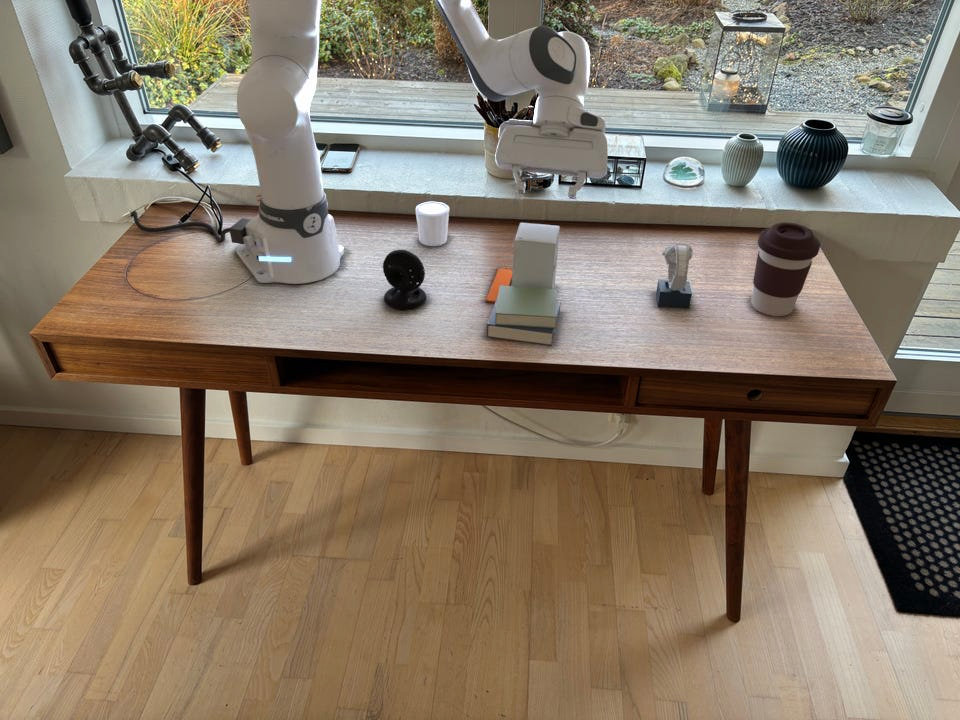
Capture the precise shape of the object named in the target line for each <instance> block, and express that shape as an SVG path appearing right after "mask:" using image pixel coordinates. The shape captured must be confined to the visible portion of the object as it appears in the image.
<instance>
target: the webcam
mask: <svg viewBox="0 0 960 720" xmlns="http://www.w3.org/2000/svg"><path fill="white" fill-rule="evenodd" d="M382 272H383V275H384V277H385V279H386V281H387V283H388V284H389V285H390V286H391V288H389V289H387V291H386V292H385V293H384V296H383V301H384V303H385V304H386V305H387V307H389V308H390V309H393V310H396V311H402V312H404V311H412V310H416V309H418V308H420V307H421V306H423V305H424V304H425V303H426V301H427V294H426V292H425V290H423V289H422V288H421V287H420V286H421V285H422V284H423V283H424V281H425V278H426V277H425V276H426V271H425V267H424V264H423V262H422V260H421V259H420V257H418V256H417V254H414V253H413V252H411V251H410V250H407V249H395V250H392V251H390V252H389V253H388V254H387V255H386V256H385V258H384V260H383V261H382ZM413 295H416V296H417V298H416V299H414V300H411V301H409V300H410V298H411V297H412V296H413Z"/></svg>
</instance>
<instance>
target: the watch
mask: <svg viewBox="0 0 960 720" xmlns="http://www.w3.org/2000/svg"><path fill="white" fill-rule="evenodd" d="M693 250H694V249H693V247H692V246H690V245H689V244H686V243H682V242H681V243H680V242H679V243H672V244H670V245H667V246H666V247H665V248H664V250H661V256H664V259H665V264H666V266H668V268H667V279H658V280H657V284H656V285H657V286H656V292H655V298H656V305H657V307H658V308H671V309H684V310H685V309H686V310H687V309H688V310H689V309H690V305H691V300H692V295H693V292H692V287H691V283H690V281H688V273H689V263H690V260H691V259H692V257H693V252H694V251H693Z"/></svg>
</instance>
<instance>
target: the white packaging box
mask: <svg viewBox="0 0 960 720" xmlns="http://www.w3.org/2000/svg"><path fill="white" fill-rule="evenodd" d="M560 231H561V227H560V225H551V224H544V223H543V224H541V223H530V222H520V223H519V225H518V228H517V231H516V234H515V237H514V239H513V251H512V252H513V253H512V270H513V272H512V279H511V286H515V287H532V288H549V289H556V288H555V287H556V278H557V277H556V276H557V267H558V266H557V265H558V257H559V256H558V255H559V240H560Z"/></svg>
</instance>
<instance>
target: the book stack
mask: <svg viewBox="0 0 960 720" xmlns="http://www.w3.org/2000/svg"><path fill="white" fill-rule="evenodd" d="M560 314H561V301H558V288H554V289H549V288H532V287H515V286H512V285H509V286H500V287H499V293H498V297H497V300H496V302H495V303H494V305H493V308H492V310H491V313H490V314H489V318H488V321H487V323H486V338H493V339H500V340H508V341H513V342H522V343H528V344H538V345H545V346H552V345H553V342H554V338H555V334H556V330H557V326H558V322H559V319H560V316H561V315H560Z"/></svg>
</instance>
